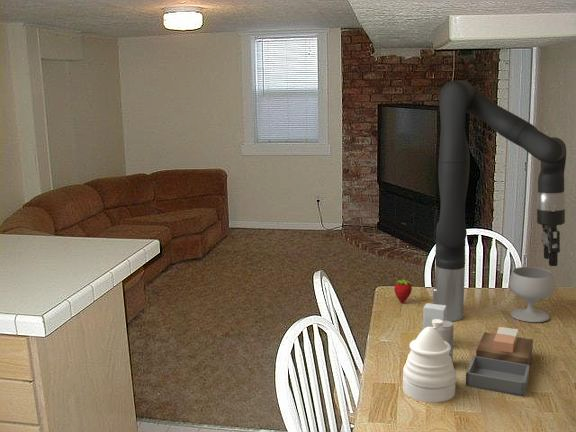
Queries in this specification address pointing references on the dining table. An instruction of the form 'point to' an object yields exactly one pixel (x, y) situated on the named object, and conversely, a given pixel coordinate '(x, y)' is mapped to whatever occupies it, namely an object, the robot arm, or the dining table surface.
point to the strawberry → (402, 290)
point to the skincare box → (433, 313)
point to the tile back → (508, 332)
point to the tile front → (504, 343)
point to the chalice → (531, 291)
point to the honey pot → (429, 367)
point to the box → (498, 375)
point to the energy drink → (447, 334)
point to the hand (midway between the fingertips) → (550, 262)
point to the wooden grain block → (519, 354)
